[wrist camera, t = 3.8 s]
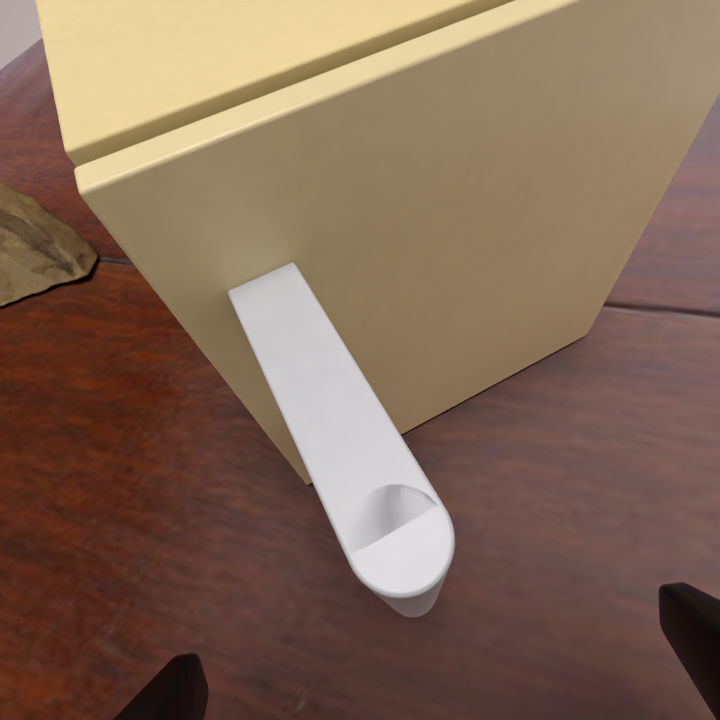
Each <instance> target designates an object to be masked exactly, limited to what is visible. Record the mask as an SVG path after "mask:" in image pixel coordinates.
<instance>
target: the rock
mask: <svg viewBox="0 0 720 720" xmlns="http://www.w3.org/2000/svg"><path fill="white" fill-rule="evenodd" d="M96 259H97V254H96V252H95V251H94V250H93V248H92V247H91V245H90V244H89V243H88V242H87V241H85V240H84V239H83V238H82V237H81V235H80V233H79V232H78V231H77V230H76V229H75V228H74V227H72V226H70V225H69V224H67V223H65V222H64V221H62V220H61V219H59V218H58V217H57V216H56V215H54V214H52V213H51V212H49V211H48V210H47V209H46V208H45V207H44V206H43V205H42V204H41V203H39V202H38V201H36V200H34V199H33V198H31V197H29V196H27V195H25V194H23V193H21V192H19V191H17V190H15V189H13V188H12V187H10V186H9V185H8V184H6V183H4V182H2V181H0V306H3V305H5V304H7V303H10V302H14V301H17V300H19V299H21V298H22V297H25V296H28V295H31V294H36V293H39V292H41V291H44V290H46V289H48V288H49V287H51V286H53V285H56V284H58V283H66V282H70V281H72V280H78V279H80V278H82V277H85V276H87V275H88V274H89V273H90V271H91V269H92V267H93V265H94V263H95V262H96Z"/></svg>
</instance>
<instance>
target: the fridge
mask: <svg viewBox="0 0 720 720" xmlns="http://www.w3.org/2000/svg"><path fill="white" fill-rule="evenodd" d="M35 1H36V6H37V11H38V16H39V22H40V26H41V32H42V37H43V42H44V47H45V52H46V57H47V62H48V67H49V72H50V77H51V82H52V87H53V93H54V98H55V103H56V108H57V113H58V118H59V123H60V128H61V133H62V138H63V143H64V148H65V152H66V154H67V155H68V157H69V158H70V159H71V161H72V162H73V163H74V165H75V166H76V167H78V166H81V165H83V164H86V163H89V162H91V161H94V160H97V159H99V158H102V157H104V156H107V155H110V154H112V153H115V152H118V151H120V150H123V149H126V148H128V147H131V146H133V145H136V144H139V143H141V142H144V141H147V140H149V139H152V138H154V137H157V136H160V135H162V134H165V133H168V132H170V131H173V130H176V129H178V128H181V127H183V126H186V125H189V124H191V123H194V122H197V121H199V120H202V119H204V118H207V117H210V116H212V115H215V114H218V113H220V112H223V111H226V110H228V109H231V108H233V107H236V106H239V105H241V104H244V103H247V102H249V101H252V100H254V99H257V98H260V97H262V96H265V95H268V94H270V93H273V92H276V91H278V90H281V89H283V88H286V87H289V86H291V85H294V84H297V83H299V82H302V81H304V80H307V79H310V78H312V77H315V76H318V75H320V74H323V73H326V72H328V71H331V70H333V69H336V68H339V67H341V66H344V65H347V64H349V63H352V62H354V61H357V60H360V59H362V58H365V57H368V56H370V55H373V54H376V53H378V52H381V51H383V50H386V49H389V48H391V47H394V46H397V45H399V44H402V43H404V42H407V41H410V40H412V39H415V38H418V37H420V36H423V35H426V34H428V33H431V32H433V31H436V30H439V29H441V28H444V27H447V26H449V25H452V24H454V23H457V22H460V21H462V20H465V19H468V18H470V17H473V16H476V15H478V14H481V13H483V12H486V11H489V10H491V9H494V8H497V7H499V6H502V5H504V4H507V3H510V2H512V1H515V0H35Z"/></svg>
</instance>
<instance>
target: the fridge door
mask: <svg viewBox="0 0 720 720" xmlns="http://www.w3.org/2000/svg"><path fill="white" fill-rule="evenodd" d="M719 93H720V0H515V1H512V2H510V3H507V4H504V5H502V6H499V7H497V8H494V9H491V10H489V11H486V12H483V13H481V14H478V15H476V16H473V17H470V18H468V19H465V20H462V21H460V22H457V23H454V24H452V25H449V26H447V27H444V28H441V29H439V30H436V31H433V32H431V33H428V34H426V35H423V36H420V37H418V38H415V39H412V40H410V41H407V42H404V43H402V44H399V45H397V46H394V47H391V48H389V49H386V50H383V51H381V52H378V53H376V54H373V55H370V56H368V57H365V58H362V59H360V60H357V61H354V62H352V63H349V64H347V65H344V66H341V67H339V68H336V69H333V70H331V71H328V72H326V73H323V74H320V75H318V76H315V77H312V78H310V79H307V80H304V81H302V82H299V83H297V84H294V85H291V86H289V87H286V88H283V89H281V90H278V91H276V92H273V93H270V94H268V95H265V96H262V97H260V98H257V99H254V100H252V101H249V102H247V103H244V104H241V105H239V106H236V107H233V108H231V109H228V110H226V111H223V112H220V113H218V114H215V115H212V116H210V117H207V118H204V119H202V120H199V121H197V122H194V123H191V124H189V125H186V126H183V127H181V128H178V129H176V130H173V131H170V132H168V133H165V134H162V135H160V136H157V137H154V138H152V139H149V140H147V141H144V142H141V143H139V144H136V145H133V146H131V147H128V148H126V149H123V150H120V151H118V152H115V153H112V154H110V155H107V156H104V157H102V158H99V159H97V160H94V161H91V162H89V163H86V164H83V165H81V166H78V167H77V168H76V169H75V170H74V172H75V177H76V182H77V186H78V191H79V194H80V196H81V197H82V198H83V200H84V201H85V202H86V203H87V205H88V206H89V207H90V209H91V210H92V211H93V212H94V214H95V215H96V216H97V217H98V219H99V220H100V221H101V223H102V224H103V225H104V226H105V228H106V229H107V230H108V232H109V233H110V234H111V235H112V237H113V238H114V239H115V240H116V242H117V243H118V244H119V246H120V247H121V248H122V249H123V251H124V252H125V253H126V255H127V256H128V257H129V258H130V260H131V261H132V262H133V264H134V265H135V266H136V267H137V269H138V270H139V271H140V272H141V274H142V275H143V276H144V278H145V279H146V280H147V281H148V283H149V284H150V285H151V287H152V288H153V289H154V290H155V292H156V293H157V294H158V296H159V297H160V298H161V299H162V301H163V302H164V303H165V304H166V306H167V307H168V308H169V310H170V311H171V312H172V313H173V315H174V316H175V317H176V319H177V320H178V321H179V322H180V324H181V325H182V326H183V327H184V329H185V330H186V331H187V333H188V334H189V335H190V336H191V338H192V339H193V340H194V342H195V343H196V344H197V345H198V347H199V348H200V349H201V351H202V352H203V353H204V354H205V356H206V357H207V358H208V359H209V361H210V362H211V363H212V365H213V366H214V367H215V368H216V370H217V371H218V372H219V374H220V375H221V376H222V377H223V379H224V380H225V381H226V383H227V384H228V385H229V386H230V388H231V389H232V390H233V391H234V393H235V394H236V395H237V397H238V398H239V399H240V400H241V402H242V403H243V404H244V406H245V407H246V408H247V409H248V411H249V412H250V413H251V414H252V416H253V417H254V418H255V420H256V421H257V422H258V423H259V425H260V426H261V427H262V429H263V430H264V431H265V432H266V434H267V435H268V436H269V438H270V439H271V440H272V441H273V443H274V444H275V445H276V446H277V448H278V449H279V450H280V452H281V453H282V454H283V455H284V457H285V458H286V459H287V461H288V462H289V463H290V464H291V466H292V467H293V468H294V470H295V471H296V472H297V473H298V475H299V476H300V477H301V478H302V480H303V481H304V482H305V484H306V485H308V484H310V483H313V485H314V487H315V489H316V492H317V494H318V496H319V498H320V500H321V503H322V505H323V507H324V509H325V511H326V514H327V516H328V518H329V520H330V523H331V525H332V527H333V529H334V531H335V534H336V536H337V538H338V540H339V542H340V545H341V547H342V549H343V551H344V554H345V556H346V558H347V560H348V562H349V565H350V566H351V568H352V570H353V572H354V573H355V575H356V576H357V578H358V579H359V580H360V581H361V582H362V583H363V584H364V585H365V586H367V587H368V588H369V589H370V590H371V591H373V592H374V593H375V594H376V595H377V596H379V597H380V598H381V599H382V600H383V601H384V602H386V603H387V604H388V605H389V606H390V607H392V608H393V609H394V610H395V611H396V612H398V613H399V614H401V615H403V616H407V617H419V616H422V615H424V614H425V613H427V612H428V611H429V610H430V609H431V608H432V607H433V605H434V604H435V602H436V599H437V597H438V594H439V592H440V589H441V587H442V584H443V582H444V579H445V577H446V574H447V572H448V569H449V567H450V564H451V562H452V559H453V555H454V549H455V534H454V528H453V524H452V521H451V518H450V516H449V514H448V512H447V510H446V508H445V507H444V505H443V503H442V501H441V500H440V498H439V497H438V495H437V493H436V492H435V490H434V488H433V487H432V485H431V484H430V482H429V480H428V479H427V477H426V475H425V474H424V472H423V471H422V469H421V467H420V466H419V464H418V462H417V461H416V459H415V458H414V456H413V454H412V453H411V451H410V449H409V448H408V446H407V445H406V443H405V441H404V440H403V438H402V436H401V434H403V433H405V432H407V431H409V430H411V429H412V428H414V427H416V426H418V425H420V424H422V423H424V422H425V421H427V420H429V419H431V418H433V417H435V416H437V415H438V414H440V413H442V412H444V411H446V410H448V409H450V408H451V407H453V406H455V405H457V404H459V403H461V402H463V401H464V400H466V399H468V398H470V397H472V396H474V395H476V394H477V393H479V392H481V391H483V390H485V389H487V388H489V387H490V386H492V385H494V384H496V383H498V382H500V381H502V380H503V379H505V378H507V377H509V376H511V375H513V374H515V373H516V372H518V371H520V370H522V369H524V368H526V367H528V366H529V365H531V364H533V363H535V362H537V361H539V360H541V359H542V358H544V357H546V356H548V355H550V354H552V353H554V352H555V351H557V350H559V349H561V348H563V347H565V346H567V345H568V344H570V343H572V342H574V341H576V340H578V339H580V338H581V337H583V336H585V335H587V333H588V332H589V330H590V328H591V326H592V324H593V322H594V321H595V319H596V317H597V315H598V313H599V312H600V310H601V308H602V306H603V304H604V302H605V301H606V299H607V297H608V295H609V293H610V292H611V290H612V288H613V286H614V284H615V282H616V281H617V279H618V277H619V275H620V273H621V272H622V270H623V268H624V266H625V264H626V262H627V261H628V259H629V257H630V255H631V253H632V252H633V250H634V248H635V246H636V244H637V242H638V241H639V239H640V237H641V235H642V233H643V231H644V230H645V228H646V226H647V224H648V222H649V221H650V219H651V217H652V215H653V213H654V211H655V210H656V208H657V206H658V204H659V202H660V201H661V199H662V197H663V195H664V193H665V191H666V190H667V188H668V186H669V184H670V182H671V181H672V179H673V177H674V175H675V173H676V171H677V170H678V168H679V166H680V164H681V162H682V160H683V159H684V157H685V155H686V153H687V151H688V150H689V148H690V146H691V144H692V142H693V140H694V139H695V137H696V135H697V133H698V131H699V130H700V128H701V126H702V124H703V122H704V120H705V119H706V117H707V115H708V113H709V111H710V110H711V108H712V106H713V104H714V102H715V100H716V99H717V97H718V95H719Z"/></svg>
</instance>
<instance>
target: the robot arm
mask: <svg viewBox="0 0 720 720" xmlns="http://www.w3.org/2000/svg"><path fill="white" fill-rule="evenodd" d="M659 617H660V625H661V628H662V630H663V633H664V635H665V636H666V638H667V640H668V641H669V643H670V645H671V646H672V648H673V650H674V651H675V653H676V655H677V656H678V658H679V659H680V661H681V663H682V664H683V666H684V668H685V669H686V671H687V673H688V674H689V676H690V677H691V679H692V681H693V682H694V684H695V686H696V687H697V689H698V691H699V692H700V694H701V695H702V697H703V699H704V700H705V702H706V704H707V705H708V707H709V708H710V710H711V712H712V713H713V715H714V716H715V718H716V720H720V600H718V599H716V598H714V597H712V596H710V595H708V594H706V593H704V592H702V591H700V590H698V589H696V588H694V587H692V586H690V585H688V584H686V583H683V582H678V583H671V584H664V585H662V586H661V587H660V588H659ZM207 701H208V684H207V681H206V678H205V674H204V671H203V668H202V665H201V661H200V658H199V656H198V655H197V654H196V653H189V654H182V655H177V656H175V657H174V658H173V659H172V660H171V661H170V662H169V663H168V664H167V665H166V666H165V667H164V668H163V669H162V670H161V671H160V672H159V673H158V674H157V675H156V676H155V677H154V678H153V679H152V680H151V681H150V682H149V683H148V684H147V685H146V686H145V687H144V688H143V689H142V690H141V691H140V692H139V693H138V694H137V695H136V696H135V697H134V698H133V700H132V701H131V702H130V703H129V704H128V705H127V706H126V707H125V708H124V709H123V710H122V711H121V712H120V713H119V714H118V715H117V716H116V717H115V718H114V719H113V720H204V716H205V711H206V706H207Z"/></svg>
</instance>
